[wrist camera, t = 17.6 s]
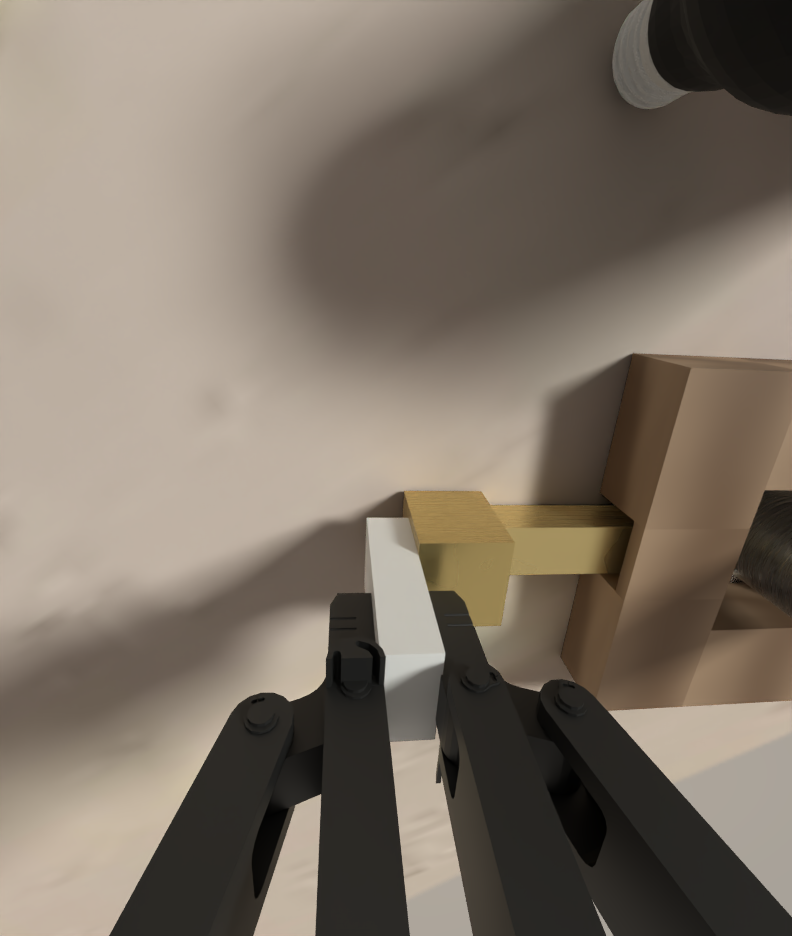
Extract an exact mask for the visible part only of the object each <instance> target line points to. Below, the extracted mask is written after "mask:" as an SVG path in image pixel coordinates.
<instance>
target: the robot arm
mask: <svg viewBox="0 0 792 936" xmlns="http://www.w3.org/2000/svg"><path fill="white" fill-rule="evenodd" d="M364 586H365V593H340V594H337V596H336V597H335V599H334V600H333V602H332V603H331V605H330V623H329V646H328V654H327V658H326V678H325V680H324V682H323V683H322V684H321V685H320V687H319V688H318V689H317V690H315V691H314V692H312V693H311V694H309V695H307V696H305V697H303V698H300V699H297V700H294V701H291V702H289V701H288V700H287V699H286V698H285V697H284V696H281V695H278V694H275V693H259V694H256V695H253V696H250V697H248V698H247V699H245V700H244V701H242V702H241V703H239V704H238V705H237V707H236V708H235V709H234V710H233V712H232V713H231V714H230V716H229V718H228V720H227V722H226V724H225V725H224V727H223V729H222V731H221V733H220V735H219V736H218V738H217V740H216V742H215V744H214V746H213V747H212V749H211V751H210V753H209V755H208V756H207V758H206V760H205V762H204V764H203V766H202V767H201V769H200V771H199V773H198V775H197V777H196V778H195V780H194V782H193V784H192V786H191V787H190V789H189V791H188V793H187V795H186V797H185V798H184V800H183V802H182V804H181V806H180V808H179V809H178V811H177V813H176V815H175V817H174V819H173V820H172V822H171V824H170V826H169V828H168V829H167V831H166V833H165V835H164V837H163V839H162V840H161V842H160V844H159V846H158V848H157V850H156V851H155V853H154V855H153V857H152V859H151V861H150V862H149V864H148V866H147V868H146V870H145V871H144V873H143V875H142V877H141V879H140V881H139V882H138V884H137V886H136V888H135V890H134V892H133V893H132V895H131V897H130V899H129V901H128V902H127V904H126V906H125V908H124V910H123V912H122V913H121V915H120V917H119V919H118V921H117V923H116V924H115V926H114V928H113V930H112V932H111V934H110V935H109V936H253V934H254V931H255V928H256V925H257V922H258V919H259V916H260V913H261V910H262V907H263V904H264V901H265V897H266V894H267V891H268V888H269V885H270V882H271V879H272V876H273V873H274V870H275V867H276V864H277V861H278V857H279V854H280V851H281V848H282V845H283V842H284V839H285V836H286V833H287V830H288V827H289V824H290V821H291V817H292V814H293V811H294V808H295V805H296V804H299V803H301V802H303V801H306V800H308V799H310V798H313V797H315V796H317V795H320V794H321V817H320V840H319V864H318V888H317V911H316V935H315V936H410V933H409V924H408V914H407V904H406V894H405V884H404V875H403V865H402V855H401V845H400V836H399V826H398V816H397V806H396V796H395V787H394V777H393V767H392V757H391V748H390V742H394V741H413V740H431V739H435V734H436V726H437V729H438V734H439V738H440V748H439V755H438V763H437V771H436V783H441V776H442V779H443V785H444V790H445V795H446V800H447V805H448V810H449V815H450V820H451V825H452V831H453V836H454V841H455V846H456V851H457V856H458V861H459V866H460V871H461V876H462V881H463V887H464V892H465V897H466V902H467V907H468V912H469V917H470V922H471V927H472V933H473V936H606V934H605V931H604V929H603V926H602V924H601V922H600V919H599V916H598V914H597V912H596V909H595V906H594V904H595V905H596V907H597V909H598V910H599V912H600V914H601V915H602V917H603V919H604V920H605V922H606V923H607V925H608V927H609V929H610V930H611V932H612V934H613V935H614V936H792V917H791V916H790V915H789V914H788V913H787V911H786V910H785V909H784V908H783V907H782V906H781V905H780V904H779V902H778V901H777V900H776V899H775V898H774V897H773V896H772V895H771V893H770V892H769V891H768V890H767V889H766V888H765V887H764V886H763V885H762V883H761V882H760V881H759V880H758V879H757V878H756V877H755V876H754V874H753V873H752V872H751V871H750V870H749V869H748V868H747V867H746V865H745V864H744V863H743V862H742V861H741V860H740V859H739V858H738V857H737V856H736V855H735V853H734V852H733V851H732V850H731V849H730V848H729V847H728V845H727V844H726V843H725V842H724V841H723V840H722V839H721V838H720V836H719V835H718V834H717V833H716V832H715V831H714V830H713V829H712V827H711V826H710V825H709V824H708V823H707V822H706V821H705V820H704V819H703V817H701V815H700V814H699V813H698V812H697V811H696V810H695V808H694V807H693V806H692V805H691V804H690V803H689V802H688V801H687V799H686V798H685V797H684V796H683V795H682V794H681V793H680V792H679V791H678V789H677V788H676V787H675V786H674V785H673V784H672V783H671V782H670V780H669V779H668V778H667V777H666V776H665V775H664V774H663V773H662V772H661V770H660V769H659V768H658V767H657V766H656V765H655V764H654V763H653V761H652V760H651V759H650V758H649V757H648V756H647V755H646V754H645V752H644V751H643V750H642V749H641V748H640V747H639V746H638V745H637V744H636V742H635V741H634V740H633V739H632V738H631V737H630V736H629V735H628V733H627V732H626V731H625V730H624V729H623V728H622V727H621V726H620V725H619V723H618V722H617V721H616V720H615V719H614V718H613V717H612V716H611V714H610V713H609V712H608V711H607V710H606V709H605V708H604V707H603V706H602V704H601V703H600V702H599V701H598V700H597V699H596V698H595V697H594V695H592V694H591V693H590V692H589V691H588V690H587V689H585V688H584V687H582V686H580V685H578V684H576V683H574V682H571V681H567V680H563V679H560V680H551V681H549V682H547V683H545V684H544V685H543V687H542V689H541V691H540V692H537V691H533V690H529V689H525V688H520V687H517V686H514V685H511V684H509V683H507V682H505V681H504V679H503V678H502V676H501V675H500V673H499V672H498V671H497V670H496V669H494V668H493V667H492V666H491V665H489V664H488V662H487V659H486V657H485V654H484V651H483V649H482V646H481V644H480V641H479V638H478V636H477V633H476V630H475V628H474V626H473V622H472V620H471V617H470V616H469V612H468V609H467V607H466V604H465V601H464V600H463V599H462V598H461V597H460V596H459V595H458V594H457V593H456V592H455V591H428V588H427V584H426V581H425V577H424V573H423V570H422V566H421V562H420V559H419V555H418V551H417V548H416V544H415V540H414V537H413V533H412V529H411V526H410V522H409V519H408V518H367V525H366V551H365V576H364ZM592 900H593V901H592ZM593 902H594V904H593Z"/></svg>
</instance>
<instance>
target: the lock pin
mask: <svg viewBox="0 0 792 936" xmlns="http://www.w3.org/2000/svg"><path fill="white" fill-rule="evenodd" d="M402 518H408V519H409V522H410V526H411V529H412V533H413V537H414V540H415V544H416V548H417V551H418V555H419V559H420V562H421V566H422V570H423V573H424V577H425V581H426V584H427V588H428V591H455V592H456V593H457V594H458V595H459V596H460V597H461V598H462V599H463V600H464V601H465V604H466V607H467V609H468V612H469V616H470V617H471V620H472V622H473V626H501V622H502V616H503V610H504V605H505V599H506V593H507V587H508V581H509V575H544V574H600V573H620V572H621V568H622V565H623V561H624V558H625V554H626V550H627V547H628V543H629V539H630V536H631V532H632V529H633V525H634V520H632V519H631V518H630V517H629V516H628V515H626V514H625V513H624V512H623V511H622V510H620V509H619V508H618V507H617V506H595V505H490V504H489V503H488V501H487V499H486V498H485V496H484V495H483V493H482V492H481V491H404V502H403V517H402Z"/></svg>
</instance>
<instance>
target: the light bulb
mask: <svg viewBox="0 0 792 936" xmlns="http://www.w3.org/2000/svg"><path fill="white" fill-rule="evenodd" d="M612 68H613V76H614V82H615V85H616V87H617V89H618V91H619V93H620V95H621V96H622V97H623V98H624V99H625V100H626V101H627V102H628V103H629V104H631V105H633V106H635V107H636V108H641V109H654V108H659V107H663V106H665V105H667V104H669V103H671V102H672V101H675V100H676V99H678V98H680V97H682V96H684V95H685V94H687V93H689V92H698V91H716V90H720V89H725V90H727V91H728V92H729V93H730V94H732V95H733V96H734V97H735V98H737V99H738V100H740V101H742V102H744V103H746V104H748V105H750V106H752V107H755V108H758V109H762V110H765V111H769V112H772V113H775V114H783V115H792V0H643V1H642V2H641V3H640V4H639V5H638V6H637V7H636V8H635V9H633V10H632V11H631V12H630V14H629V15H628V16H627V18H626V20H625V21H624V23H623V25H622V26H621V28H620V31H619V34H618V37H617V40H616V42H615V47H614V53H613V61H612Z"/></svg>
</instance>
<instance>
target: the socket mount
mask: <svg viewBox="0 0 792 936" xmlns="http://www.w3.org/2000/svg"><path fill="white" fill-rule="evenodd" d="M765 490H792V360H773V359H750V358H727V357H704V356H681V355H657V354H634V353H633V355H632V360H631V364H630V368H629V372H628V376H627V381H626V385H625V389H624V393H623V397H622V402H621V406H620V410H619V414H618V418H617V423H616V427H615V431H614V435H613V439H612V444H611V448H610V452H609V456H608V460H607V464H606V469H605V473H604V477H603V481H602V485H601V490H600V493H601V494H602V495H603V496H604V497H606V498H607V499H608V500H609V501H611V502H612V503H613V504H614V505H615V506H617V507H618V508H619V509H620V510H622V511H623V512H624V513H625V514H626V515H628V516H629V517H630V518H631V519H632V520H634V525H633V529H632V532H631V536H630V539H629V543H628V547H627V550H626V554H625V558H624V561H623V565H622V568H621V572H620V573H600V574H580V578H579V582H578V586H577V590H576V595H575V599H574V603H573V607H572V611H571V616H570V620H569V624H568V628H567V632H566V637H565V641H564V645H563V649H562V653H561V658H562V660H563V662H564V663H565V665H566V667H567V669H568V670H569V672H570V674H571V675H572V677H573V679H574V681H575V682H576V684H578V685H580V686H582V687H584V688H585V689H587V690H588V691H589V692H590V693H591V694H592V695H594V697H595V698H596V699H597V700H598V701H599V702H600V703H601V704H602V706H603V707H604V708H605V709H606V710H607V711H612V710H630V709H647V708H665V707H683V706H701V705H719V704H737V703H755V702H773V701H791V700H792V618H791V617H790V616H788V615H787V614H786V613H784V612H783V611H782V610H780V609H779V608H778V607H776V606H775V605H774V604H772V603H771V602H770V601H768V600H767V599H766V598H764V597H763V596H762V595H760V594H759V593H758V592H756V591H755V590H754V589H752V588H751V587H750V586H748V585H747V584H746V583H744V582H739V583H729V582H730V580H731V577H732V574H733V572H734V569H735V567H736V564H737V561H738V559H739V556H740V554H741V551H742V548H743V546H744V543H745V540H746V538H747V535H748V533H749V530H750V527H751V525H752V522H753V519H754V517H755V514H756V512H757V509H758V506H759V504H760V501H761V499H762V496H763V493H764V491H765Z"/></svg>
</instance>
